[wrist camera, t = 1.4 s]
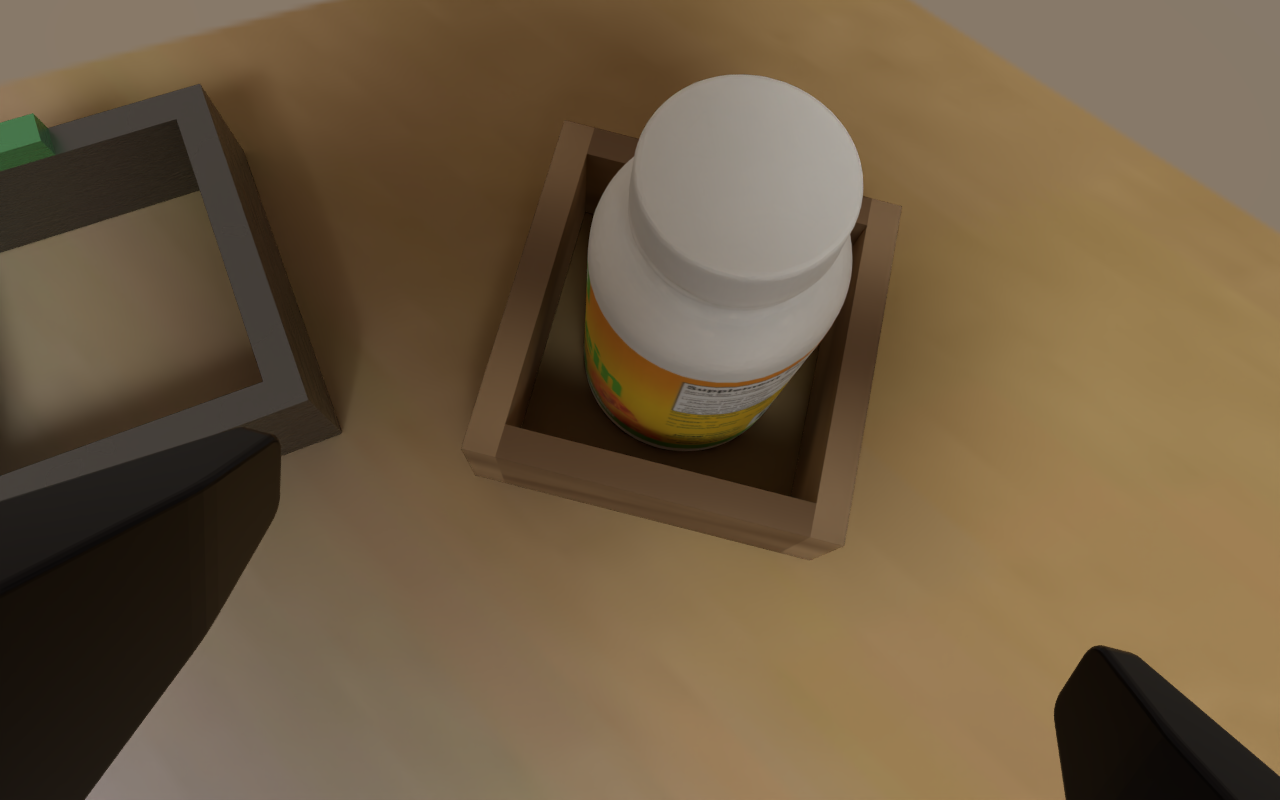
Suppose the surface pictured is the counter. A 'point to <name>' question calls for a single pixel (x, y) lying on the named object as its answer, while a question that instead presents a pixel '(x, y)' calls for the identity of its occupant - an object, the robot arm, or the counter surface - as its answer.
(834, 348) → the holder sleeve
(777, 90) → the supplement bottle
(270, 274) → the dock collar
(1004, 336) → the counter surface
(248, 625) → the counter surface
